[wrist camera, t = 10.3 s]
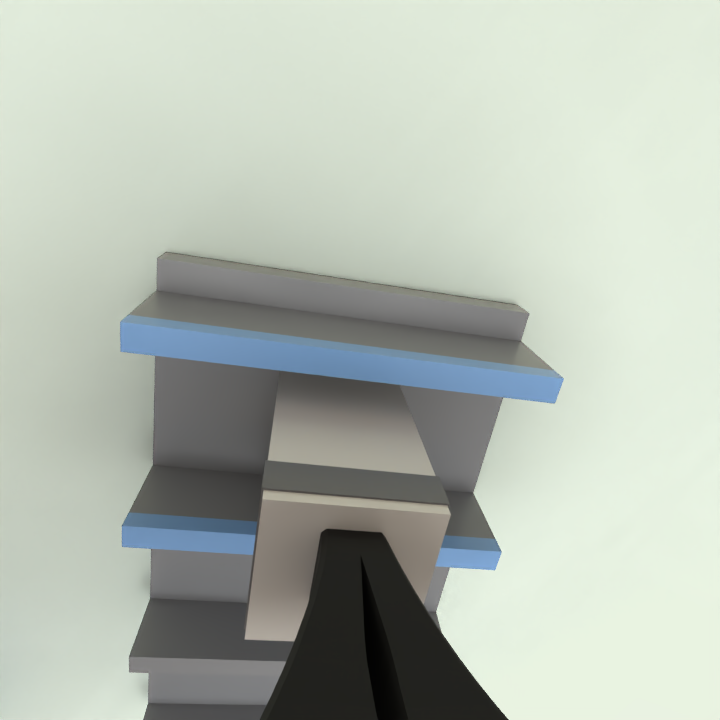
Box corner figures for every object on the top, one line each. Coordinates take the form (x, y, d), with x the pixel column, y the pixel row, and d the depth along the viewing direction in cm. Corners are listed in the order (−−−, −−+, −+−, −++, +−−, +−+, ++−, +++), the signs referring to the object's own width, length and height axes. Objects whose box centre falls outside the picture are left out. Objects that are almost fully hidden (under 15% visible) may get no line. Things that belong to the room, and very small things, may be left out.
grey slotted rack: (153, 706, 24) (123, 811, 20) (166, 252, 16) (119, 282, 12) (395, 710, 25) (410, 807, 22) (517, 305, 17) (575, 346, 14)
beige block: (266, 465, 18) (242, 641, 11) (279, 362, 16) (260, 497, 10) (376, 475, 18) (412, 647, 12) (398, 377, 17) (453, 512, 10)
